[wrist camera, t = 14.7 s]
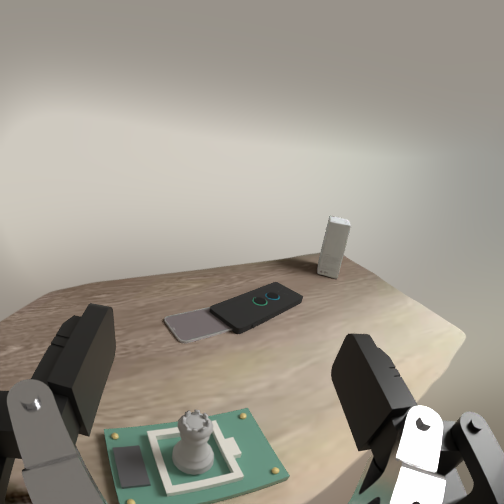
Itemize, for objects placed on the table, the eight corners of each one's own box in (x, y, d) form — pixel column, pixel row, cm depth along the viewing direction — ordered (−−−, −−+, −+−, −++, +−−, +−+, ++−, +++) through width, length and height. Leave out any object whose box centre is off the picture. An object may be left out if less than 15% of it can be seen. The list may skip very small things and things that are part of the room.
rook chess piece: (221, 467, 26) (230, 429, 23) (184, 482, 24) (184, 446, 21) (200, 438, 30) (205, 396, 27) (164, 450, 27) (162, 409, 24)
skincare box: (337, 279, 80) (352, 226, 74) (315, 274, 81) (329, 220, 75) (336, 267, 87) (350, 219, 82) (316, 262, 88) (329, 213, 83)
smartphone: (255, 322, 55) (181, 342, 46) (254, 326, 56) (181, 347, 46) (232, 301, 60) (162, 316, 51) (231, 305, 61) (162, 321, 51)
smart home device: (305, 296, 65) (239, 329, 51) (303, 303, 66) (238, 337, 51) (275, 280, 70) (207, 305, 56) (274, 287, 71) (206, 313, 56)
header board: (124, 517, 19) (120, 511, 18) (105, 434, 28) (102, 424, 27) (286, 480, 27) (292, 472, 26) (246, 413, 36) (249, 403, 35)
